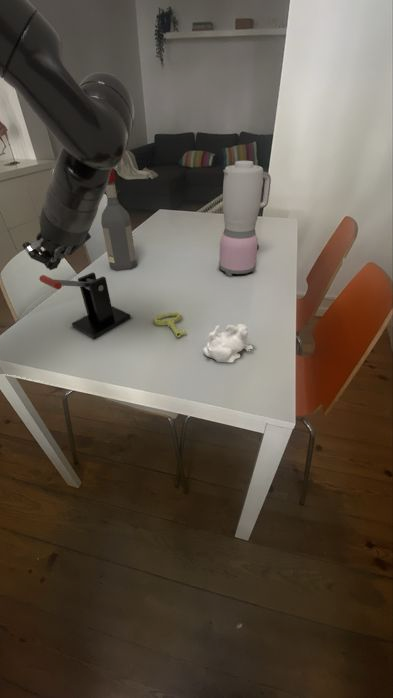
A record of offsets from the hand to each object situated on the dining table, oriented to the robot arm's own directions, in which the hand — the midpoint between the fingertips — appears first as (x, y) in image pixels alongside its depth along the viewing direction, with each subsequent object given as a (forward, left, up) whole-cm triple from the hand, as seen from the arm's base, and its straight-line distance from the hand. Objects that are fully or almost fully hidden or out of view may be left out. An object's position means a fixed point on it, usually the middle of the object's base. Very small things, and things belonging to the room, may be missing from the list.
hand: (50, 265), depth 64 cm
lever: (+3, +4, -8) cm, 10 cm away
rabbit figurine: (+29, -23, -20) cm, 42 cm away
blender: (+59, +15, -20) cm, 64 cm away
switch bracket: (+8, +6, -20) cm, 23 cm away
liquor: (+25, +39, -20) cm, 51 cm away
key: (+23, -5, -20) cm, 31 cm away
